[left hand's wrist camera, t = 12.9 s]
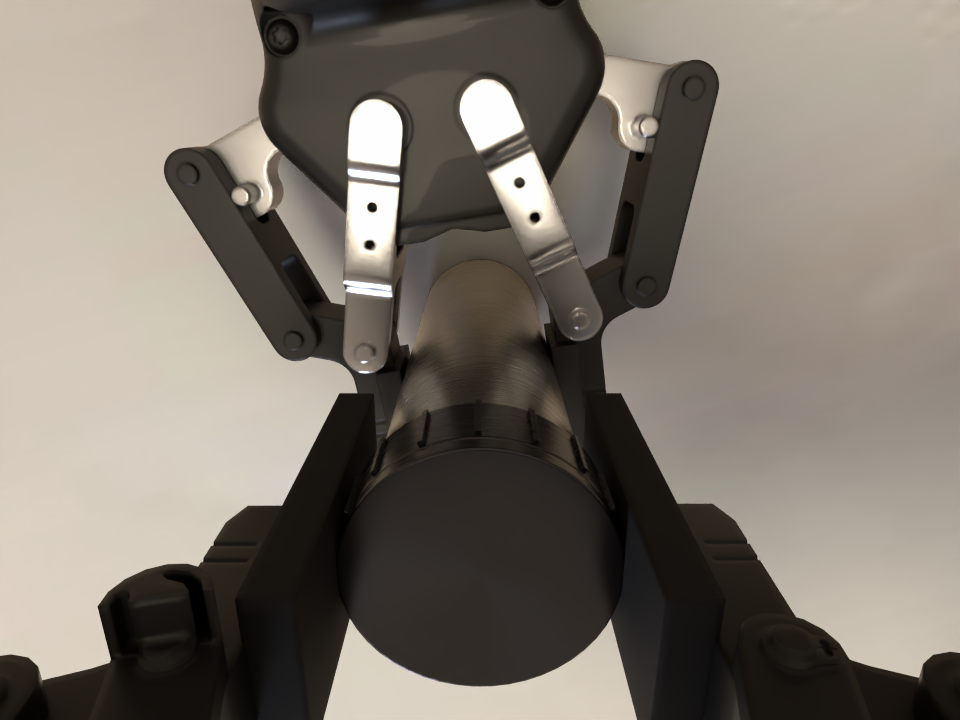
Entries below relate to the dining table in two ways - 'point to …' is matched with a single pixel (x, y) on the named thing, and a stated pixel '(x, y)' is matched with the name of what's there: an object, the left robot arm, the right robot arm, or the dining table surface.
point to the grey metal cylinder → (480, 348)
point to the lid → (480, 546)
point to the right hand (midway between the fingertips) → (495, 456)
